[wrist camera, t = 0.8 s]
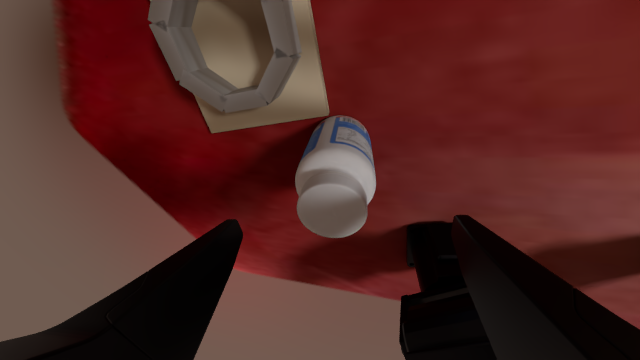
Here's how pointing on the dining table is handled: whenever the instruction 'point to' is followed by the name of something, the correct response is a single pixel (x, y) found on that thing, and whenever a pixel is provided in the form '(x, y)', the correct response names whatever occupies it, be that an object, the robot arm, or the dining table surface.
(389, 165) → the dining table surface
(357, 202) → the pill bottle
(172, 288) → the robot arm
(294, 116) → the collar
